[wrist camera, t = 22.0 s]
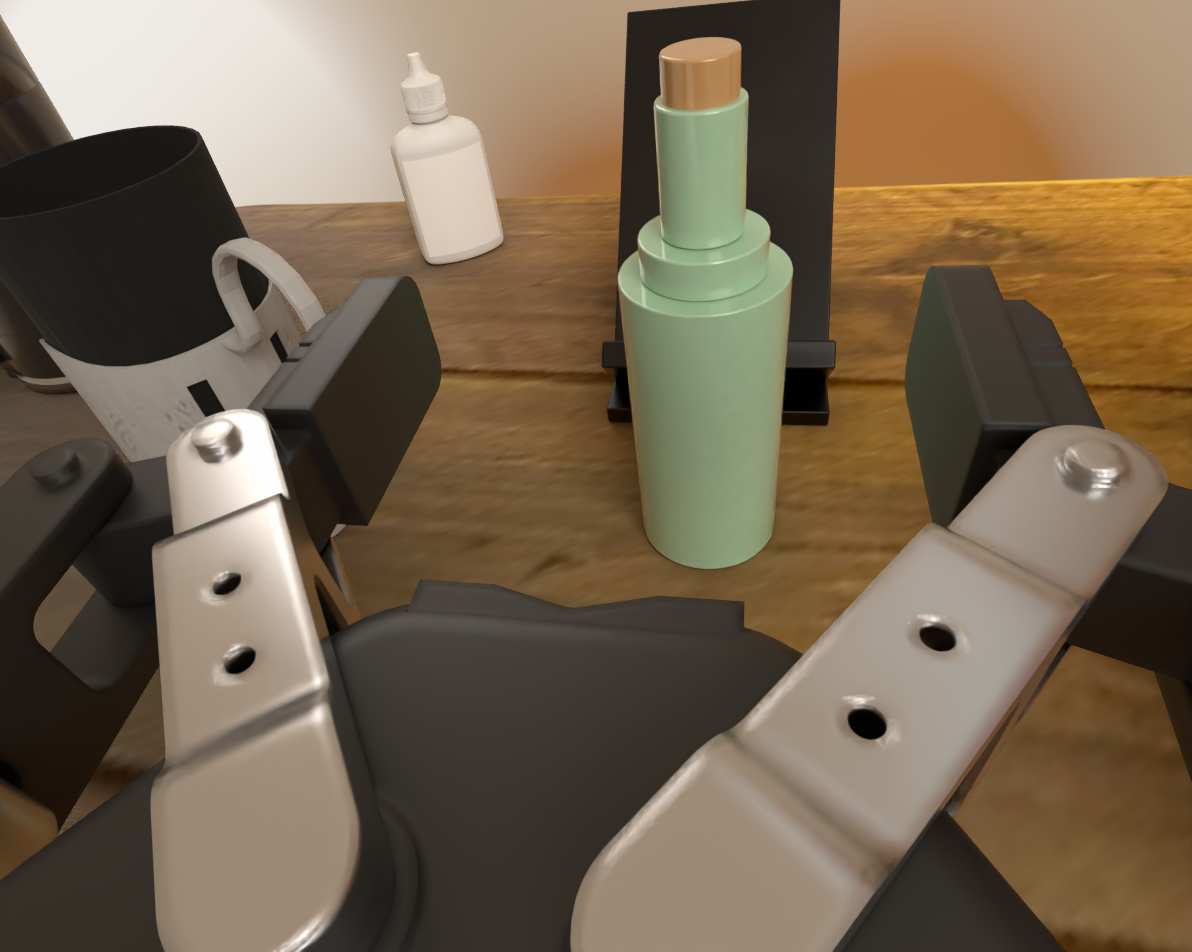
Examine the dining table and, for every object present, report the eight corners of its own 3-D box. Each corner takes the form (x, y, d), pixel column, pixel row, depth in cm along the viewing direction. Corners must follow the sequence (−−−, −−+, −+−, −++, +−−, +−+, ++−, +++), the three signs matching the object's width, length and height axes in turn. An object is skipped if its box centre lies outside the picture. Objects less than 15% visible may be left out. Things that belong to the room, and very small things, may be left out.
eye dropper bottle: (497, 263, 48) (450, 60, 39) (416, 268, 49) (354, 70, 40) (509, 232, 51) (469, 39, 43) (433, 237, 52) (379, 48, 43)
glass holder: (292, 417, 38) (133, 109, 27) (500, 507, 31) (393, 147, 21) (140, 527, 33) (-122, 204, 23) (349, 663, 26) (111, 293, 16)
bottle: (771, 563, 30) (792, 626, 16) (648, 556, 31) (568, 609, 17) (782, 221, 31) (813, -9, 16) (660, 226, 32) (591, 12, 18)
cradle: (827, 426, 32) (871, 96, 23) (608, 421, 34) (566, 117, 25) (813, 254, 44) (839, -14, 34) (648, 259, 46) (630, 7, 36)
